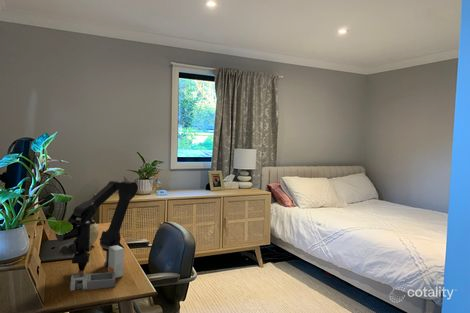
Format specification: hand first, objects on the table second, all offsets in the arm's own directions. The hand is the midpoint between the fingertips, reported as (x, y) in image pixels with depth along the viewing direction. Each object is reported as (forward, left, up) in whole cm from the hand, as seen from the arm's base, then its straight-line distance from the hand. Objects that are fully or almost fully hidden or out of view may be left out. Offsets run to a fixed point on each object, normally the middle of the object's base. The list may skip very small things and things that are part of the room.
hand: (81, 272), depth 143 cm
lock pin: (+9, 0, -1) cm, 9 cm away
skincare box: (+3, +14, -1) cm, 14 cm away
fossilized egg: (-41, 0, -1) cm, 41 cm away
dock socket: (+11, +8, -1) cm, 14 cm away
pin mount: (+12, 0, -1) cm, 12 cm away
